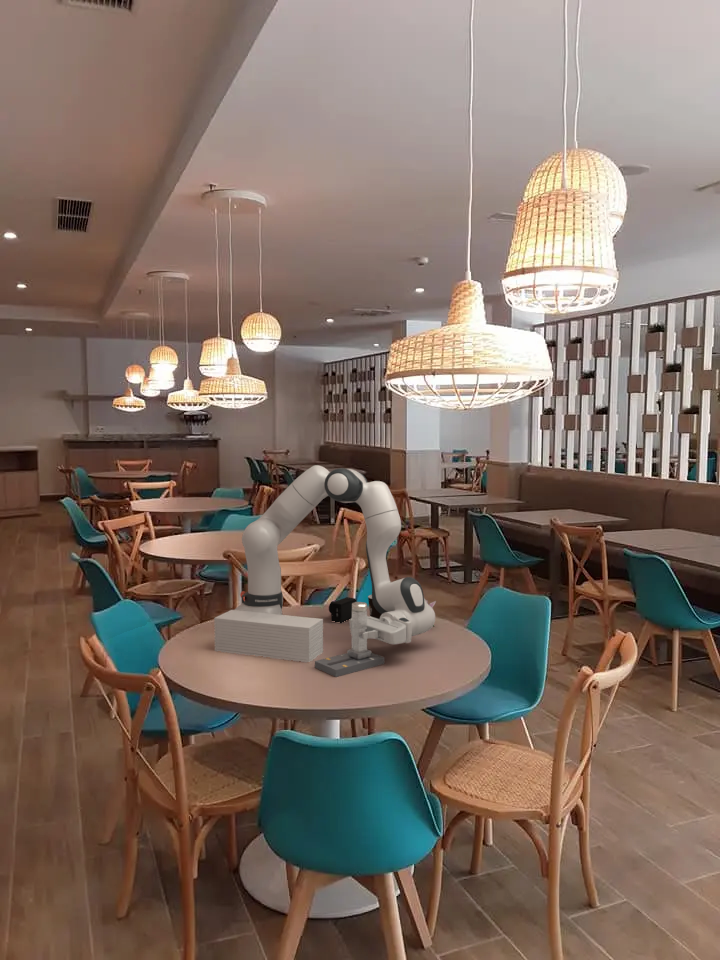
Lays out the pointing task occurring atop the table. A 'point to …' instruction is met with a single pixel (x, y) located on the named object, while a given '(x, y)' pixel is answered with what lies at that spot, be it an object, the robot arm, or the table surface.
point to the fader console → (347, 664)
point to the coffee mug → (373, 609)
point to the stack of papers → (269, 635)
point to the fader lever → (359, 631)
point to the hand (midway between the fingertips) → (356, 634)
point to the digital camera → (341, 609)
